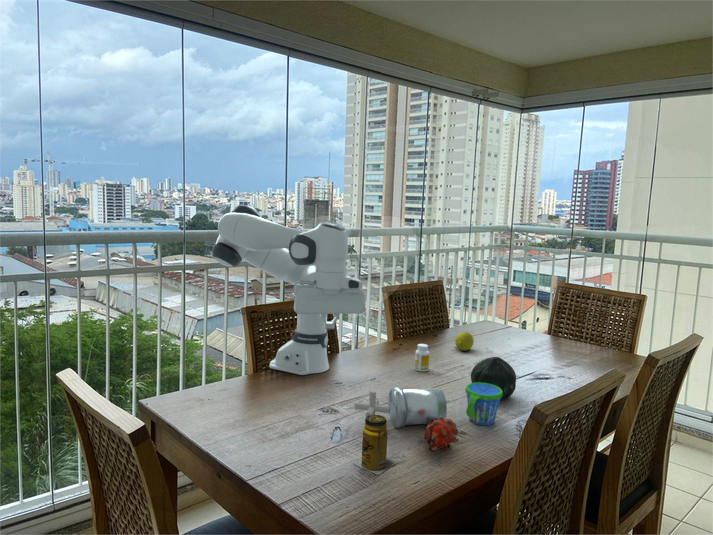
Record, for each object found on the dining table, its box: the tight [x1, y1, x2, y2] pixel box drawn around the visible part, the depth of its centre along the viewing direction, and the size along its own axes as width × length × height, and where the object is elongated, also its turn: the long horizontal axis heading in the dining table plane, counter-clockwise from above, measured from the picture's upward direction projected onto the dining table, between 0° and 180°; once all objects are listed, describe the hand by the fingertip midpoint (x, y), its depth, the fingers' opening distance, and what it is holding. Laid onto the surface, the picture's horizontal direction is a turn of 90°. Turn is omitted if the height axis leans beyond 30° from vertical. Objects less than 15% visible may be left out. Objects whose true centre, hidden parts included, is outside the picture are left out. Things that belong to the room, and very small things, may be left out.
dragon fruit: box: [423, 417, 459, 452], centre depth 139 cm, size 8×8×12 cm
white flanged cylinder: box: [387, 387, 448, 429], centre depth 153 cm, size 14×13×11 cm
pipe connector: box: [354, 389, 390, 418], centre depth 150 cm, size 10×10×10 cm
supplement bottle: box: [414, 343, 430, 372], centre depth 202 cm, size 5×5×10 cm
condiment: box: [354, 414, 398, 476], centre depth 128 cm, size 7×8×12 cm
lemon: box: [454, 331, 474, 352], centre depth 232 cm, size 11×8×8 cm
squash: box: [470, 356, 517, 401], centre depth 178 cm, size 14×15×15 cm
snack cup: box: [464, 382, 503, 426], centre depth 157 cm, size 16×10×10 cm
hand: (328, 328), depth 150 cm, fingers closed
